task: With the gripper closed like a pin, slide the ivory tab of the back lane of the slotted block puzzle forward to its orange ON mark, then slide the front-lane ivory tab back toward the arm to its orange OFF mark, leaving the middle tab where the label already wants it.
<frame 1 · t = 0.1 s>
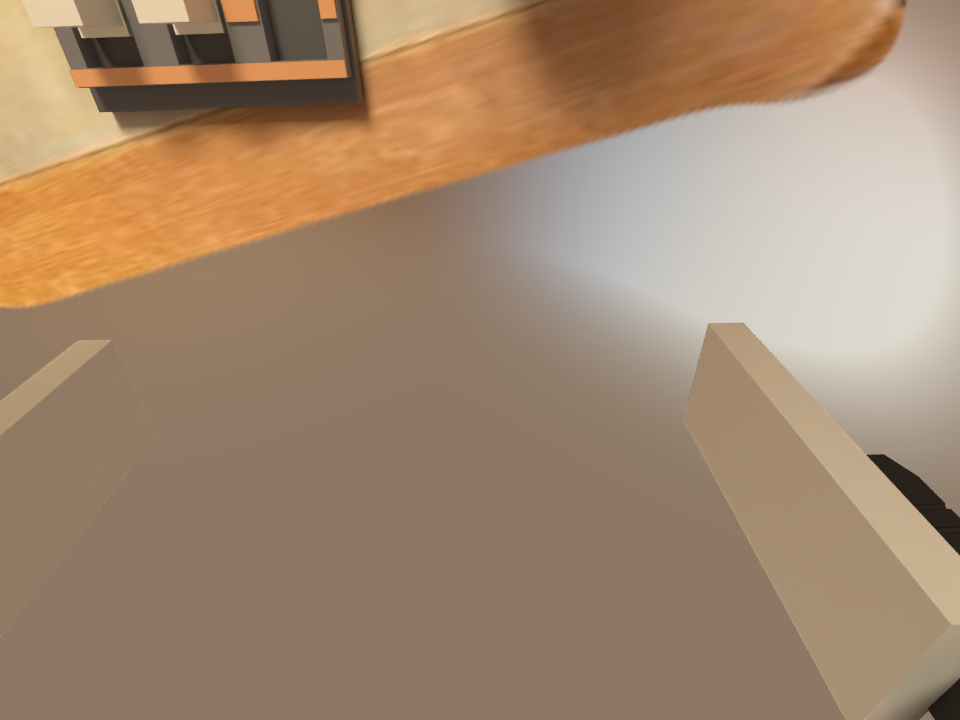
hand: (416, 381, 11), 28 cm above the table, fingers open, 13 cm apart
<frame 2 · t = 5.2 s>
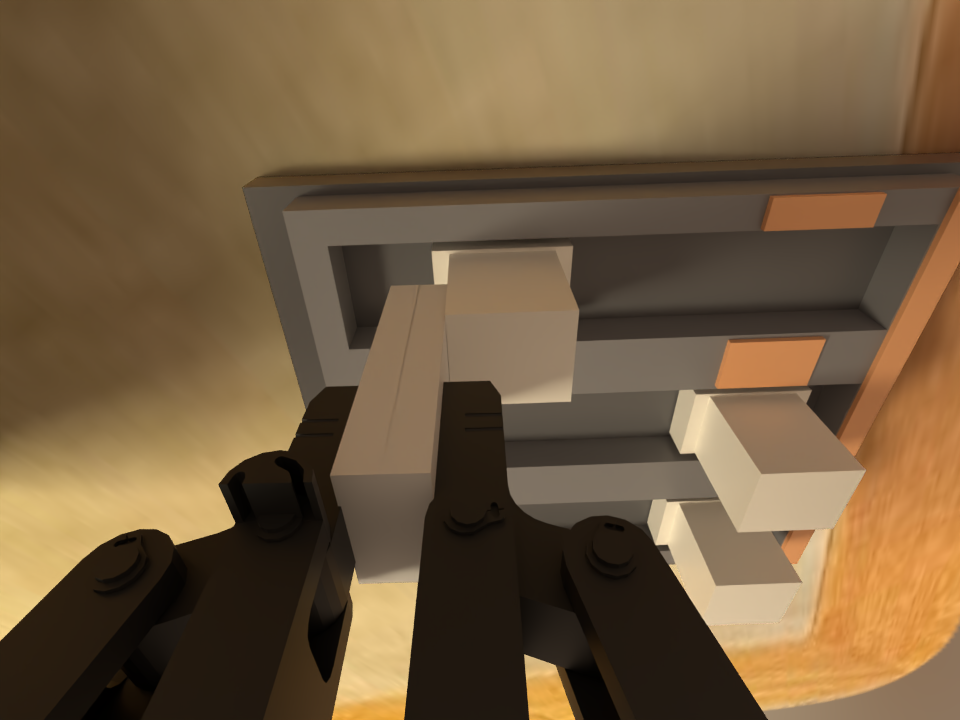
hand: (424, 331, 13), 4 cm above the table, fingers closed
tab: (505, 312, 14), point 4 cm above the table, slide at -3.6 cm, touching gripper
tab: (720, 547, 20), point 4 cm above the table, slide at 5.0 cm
tab mid: (759, 446, 17), point 4 cm above the table, slide at 5.0 cm
slotted block puzzle: (590, 386, 20), on the table
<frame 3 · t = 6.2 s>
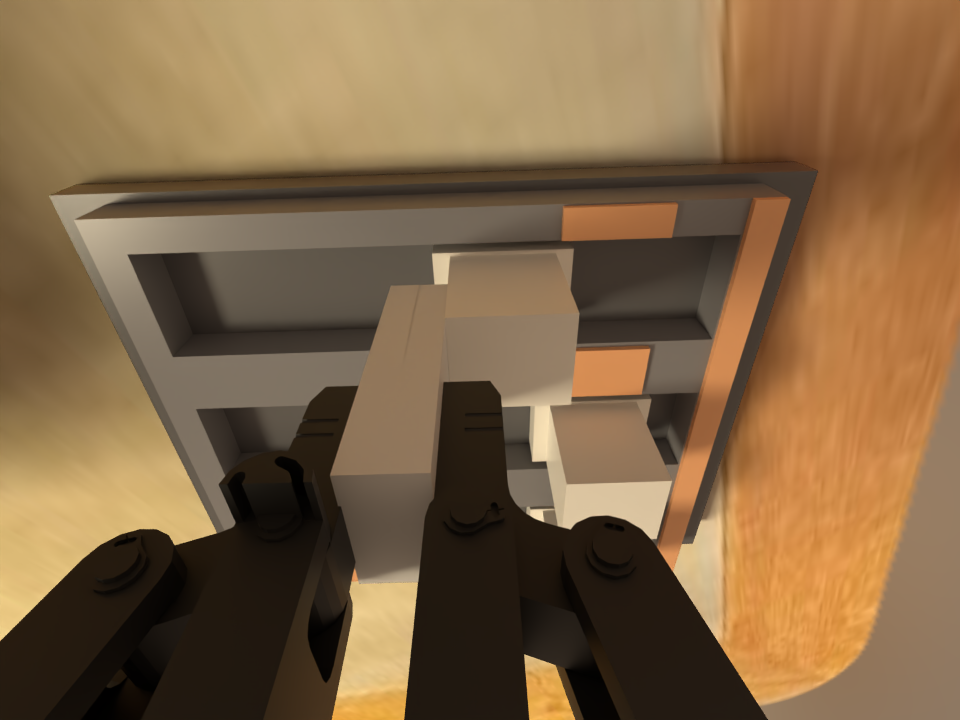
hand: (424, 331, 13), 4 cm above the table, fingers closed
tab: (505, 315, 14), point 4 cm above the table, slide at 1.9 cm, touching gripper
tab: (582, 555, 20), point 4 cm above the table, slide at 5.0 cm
tab mid: (596, 455, 17), point 4 cm above the table, slide at 5.0 cm
slotted block puzzle: (452, 393, 20), on the table
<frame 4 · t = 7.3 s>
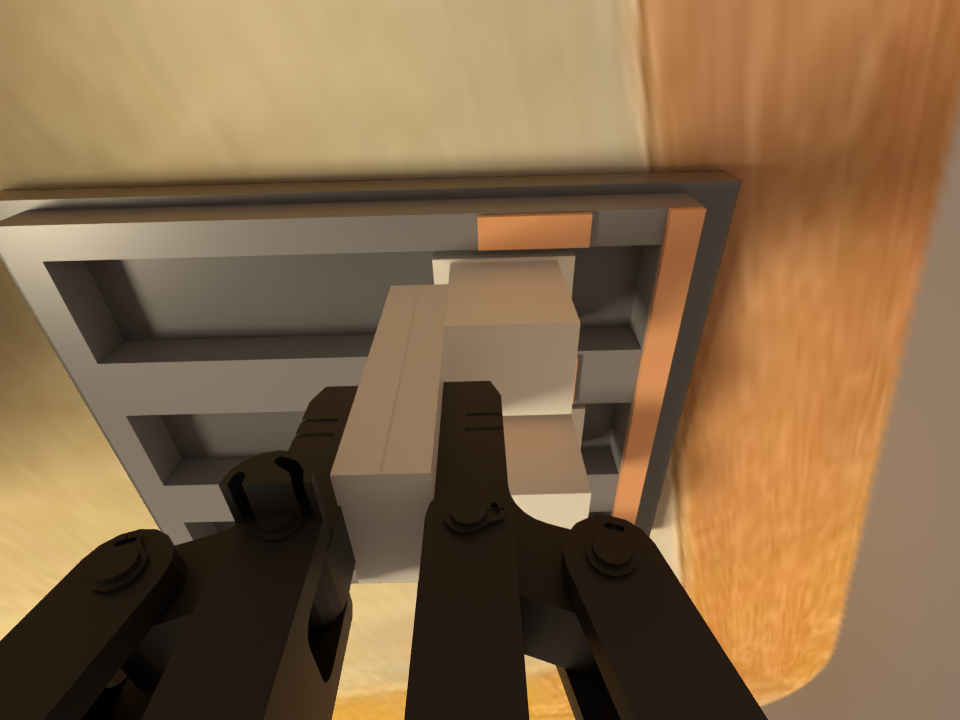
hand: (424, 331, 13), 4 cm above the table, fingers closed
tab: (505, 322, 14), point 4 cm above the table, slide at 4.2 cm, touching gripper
tab mid: (528, 465, 17), point 4 cm above the table, slide at 5.0 cm
slotted block puzzle: (394, 400, 20), on the table
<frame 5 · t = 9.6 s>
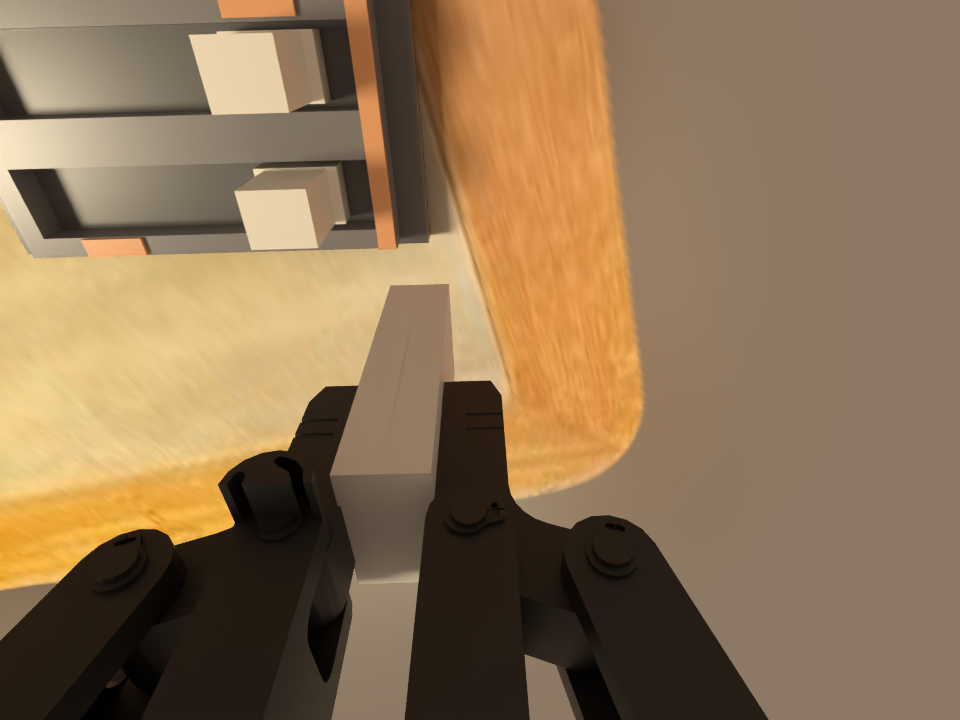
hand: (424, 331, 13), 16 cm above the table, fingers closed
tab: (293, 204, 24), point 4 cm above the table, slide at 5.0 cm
tab mid: (263, 70, 21), point 4 cm above the table, slide at 5.0 cm
slotted block puzzle: (184, 68, 24), on the table
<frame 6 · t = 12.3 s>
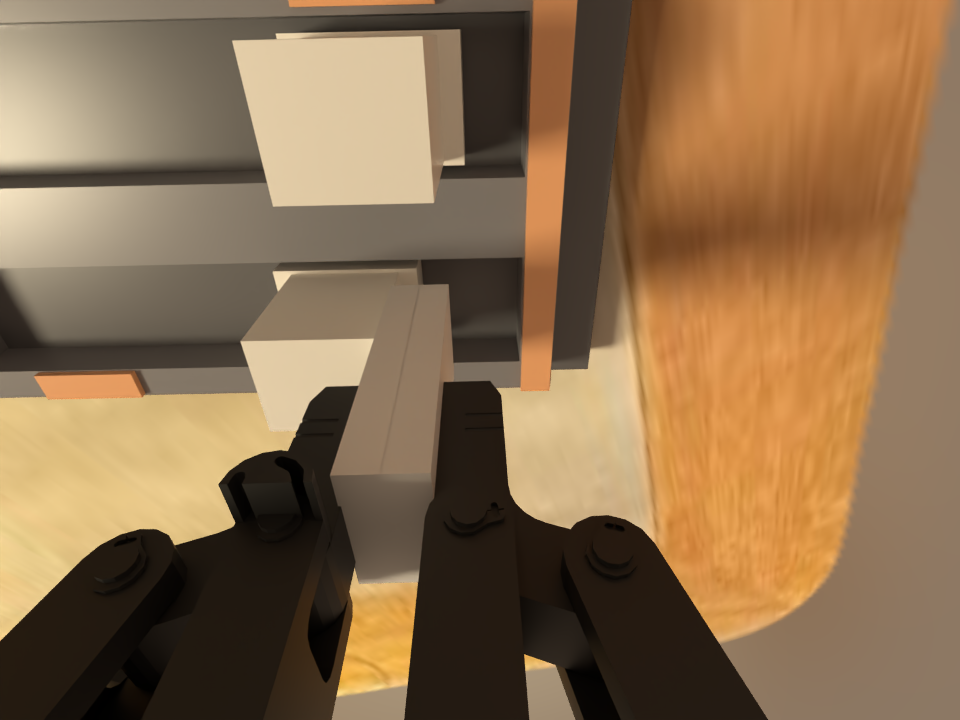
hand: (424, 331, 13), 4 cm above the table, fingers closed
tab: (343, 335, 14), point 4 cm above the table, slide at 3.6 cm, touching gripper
tab mid: (366, 110, 11), point 4 cm above the table, slide at 5.0 cm
slotted block puzzle: (209, 96, 14), on the table
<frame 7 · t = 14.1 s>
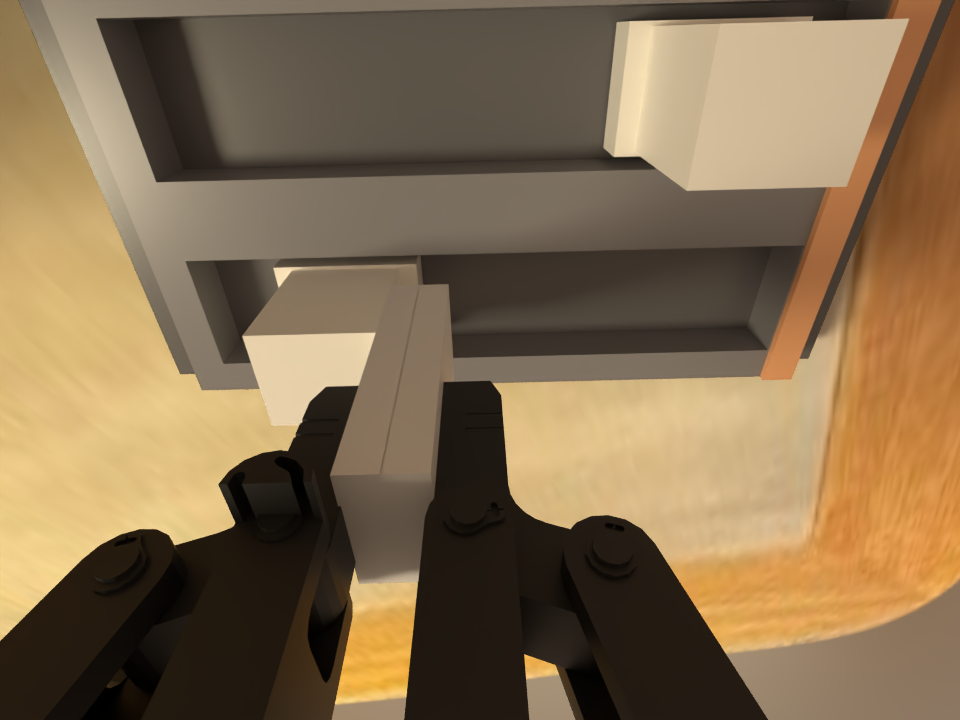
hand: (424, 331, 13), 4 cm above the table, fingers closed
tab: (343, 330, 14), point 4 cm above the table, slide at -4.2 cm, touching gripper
tab mid: (729, 96, 11), point 4 cm above the table, slide at 5.0 cm
slotted block puzzle: (490, 87, 14), on the table
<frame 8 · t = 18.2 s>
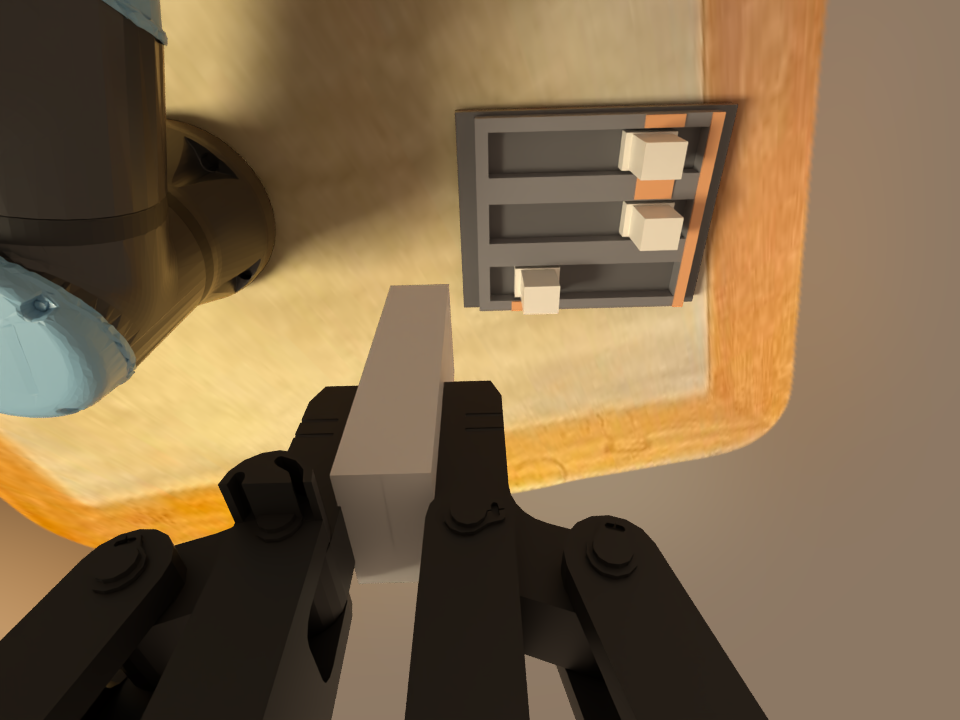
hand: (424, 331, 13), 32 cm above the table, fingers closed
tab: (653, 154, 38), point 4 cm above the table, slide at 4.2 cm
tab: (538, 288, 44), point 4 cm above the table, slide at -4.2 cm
tab mid: (652, 224, 41), point 4 cm above the table, slide at 5.0 cm
slotted block puzzle: (583, 212, 44), on the table
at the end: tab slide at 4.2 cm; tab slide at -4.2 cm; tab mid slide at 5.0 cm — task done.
